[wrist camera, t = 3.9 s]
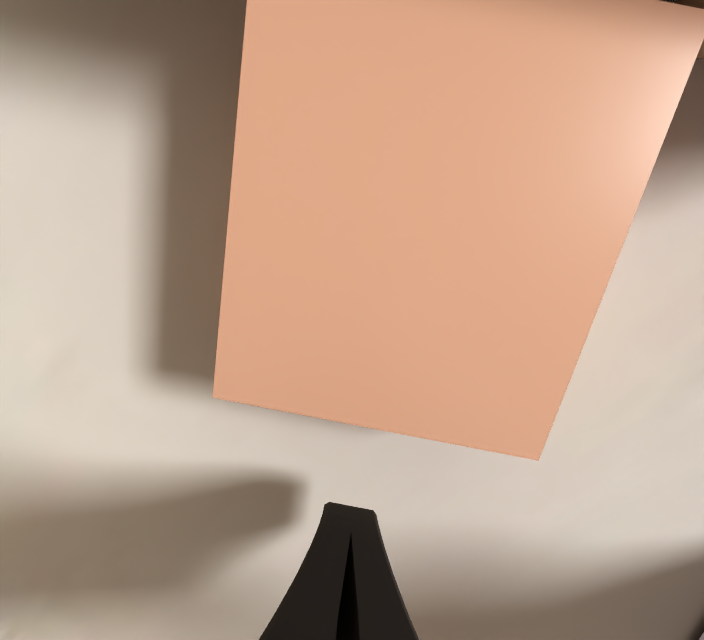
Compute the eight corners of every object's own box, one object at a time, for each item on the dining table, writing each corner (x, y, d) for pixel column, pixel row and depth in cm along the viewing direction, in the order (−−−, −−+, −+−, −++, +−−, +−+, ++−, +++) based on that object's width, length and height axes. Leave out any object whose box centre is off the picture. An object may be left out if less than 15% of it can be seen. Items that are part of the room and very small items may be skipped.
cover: (489, 394, 10) (538, 460, 7) (257, 348, 10) (212, 397, 7) (589, 89, 8) (714, 11, 5) (295, 32, 8) (253, -80, 5)
